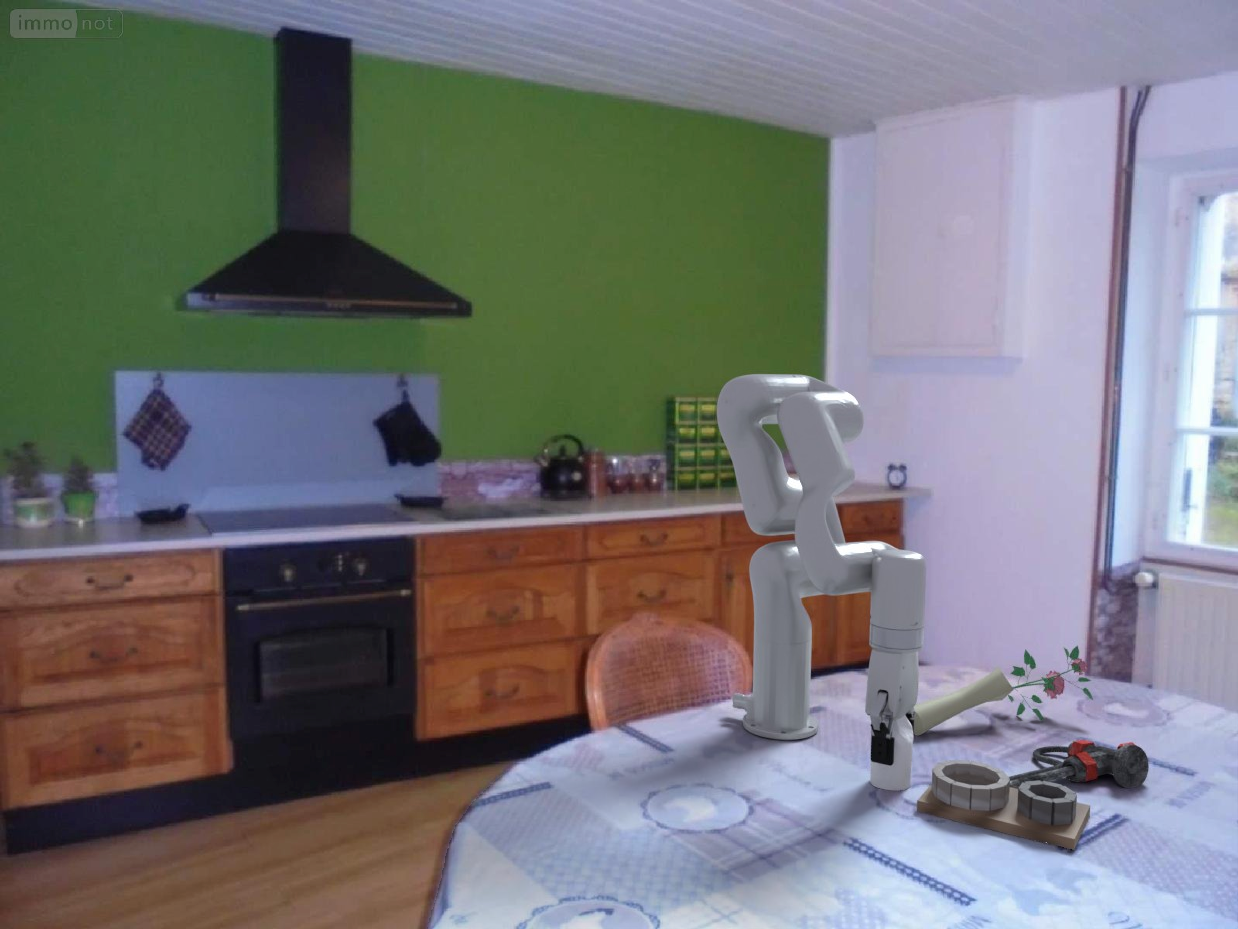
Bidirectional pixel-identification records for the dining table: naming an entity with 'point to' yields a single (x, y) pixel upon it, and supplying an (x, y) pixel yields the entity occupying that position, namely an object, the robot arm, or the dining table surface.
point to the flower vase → (993, 693)
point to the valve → (1090, 764)
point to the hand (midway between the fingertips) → (892, 753)
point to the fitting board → (1004, 803)
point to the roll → (896, 759)
